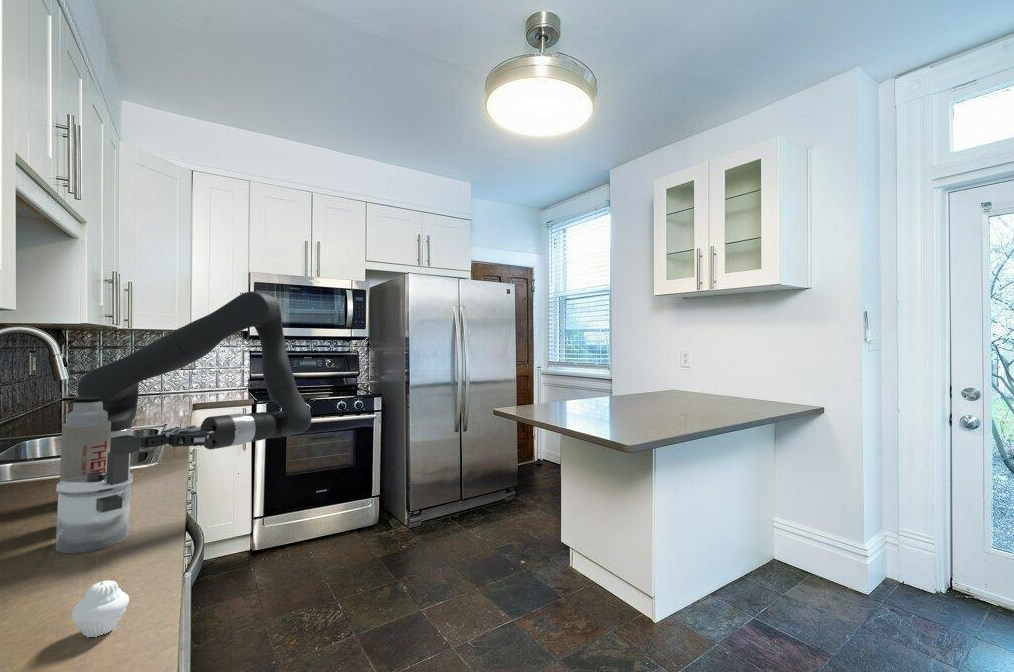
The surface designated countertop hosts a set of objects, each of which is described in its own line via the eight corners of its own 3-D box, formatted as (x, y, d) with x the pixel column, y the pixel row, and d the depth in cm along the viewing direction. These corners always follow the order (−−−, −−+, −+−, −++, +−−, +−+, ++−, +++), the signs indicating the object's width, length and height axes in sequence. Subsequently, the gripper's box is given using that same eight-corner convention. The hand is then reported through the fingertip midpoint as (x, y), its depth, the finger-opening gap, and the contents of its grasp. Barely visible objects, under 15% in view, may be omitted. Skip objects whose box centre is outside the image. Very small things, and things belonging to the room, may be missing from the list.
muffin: (77, 625, 66) (80, 576, 66) (131, 613, 69) (133, 567, 69) (64, 650, 61) (66, 597, 61) (123, 637, 64) (125, 586, 64)
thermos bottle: (112, 523, 102) (118, 397, 103) (64, 535, 95) (70, 400, 96) (99, 515, 106) (104, 394, 107) (52, 526, 100) (58, 397, 100)
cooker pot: (47, 543, 91) (50, 488, 92) (116, 525, 101) (118, 475, 101) (72, 562, 84) (75, 502, 84) (144, 541, 93) (146, 487, 94)
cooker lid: (40, 491, 89) (42, 438, 89) (103, 475, 100) (105, 428, 100) (99, 498, 86) (101, 443, 86) (157, 481, 97) (159, 432, 98)
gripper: (214, 411, 113) (128, 420, 98) (244, 417, 106) (157, 428, 91) (213, 442, 113) (126, 455, 98) (243, 450, 106) (155, 466, 91)
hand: (141, 442), depth 94 cm, fingers closed
